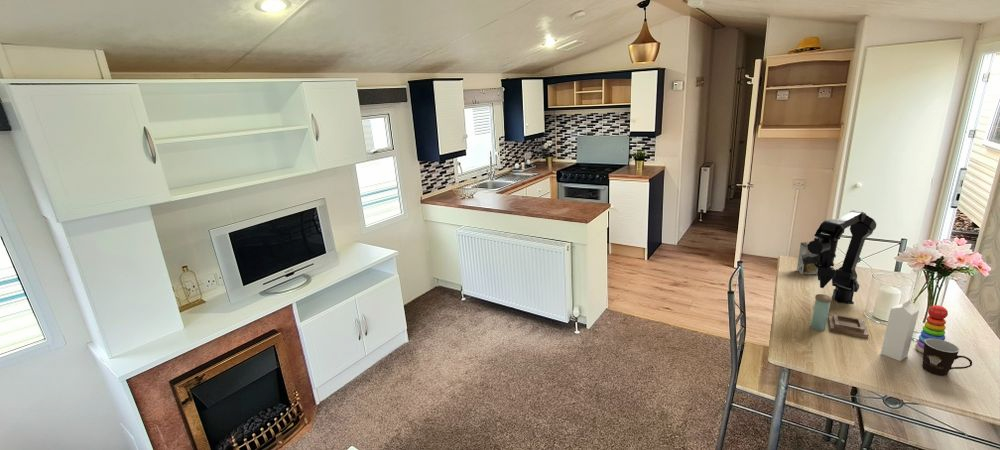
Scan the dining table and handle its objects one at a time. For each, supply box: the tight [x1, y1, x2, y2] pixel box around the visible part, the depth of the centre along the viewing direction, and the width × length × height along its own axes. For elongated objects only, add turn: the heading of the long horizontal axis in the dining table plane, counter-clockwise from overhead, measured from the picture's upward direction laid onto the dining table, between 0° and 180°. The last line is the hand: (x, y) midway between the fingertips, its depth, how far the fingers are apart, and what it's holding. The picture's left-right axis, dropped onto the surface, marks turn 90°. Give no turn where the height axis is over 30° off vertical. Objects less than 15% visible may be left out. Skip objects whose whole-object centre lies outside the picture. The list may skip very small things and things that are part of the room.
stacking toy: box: [914, 304, 949, 354], centre depth 161 cm, size 8×8×19 cm
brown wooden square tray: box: [827, 313, 869, 339], centre depth 181 cm, size 12×12×3 cm
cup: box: [810, 293, 833, 332], centre depth 181 cm, size 5×5×14 cm
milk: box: [880, 299, 920, 362], centre depth 159 cm, size 6×6×22 cm
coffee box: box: [796, 241, 817, 275], centre depth 232 cm, size 9×6×16 cm
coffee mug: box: [921, 338, 973, 377], centre depth 150 cm, size 12×9×10 cm
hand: (820, 284), depth 191 cm, fingers open, 9 cm apart
